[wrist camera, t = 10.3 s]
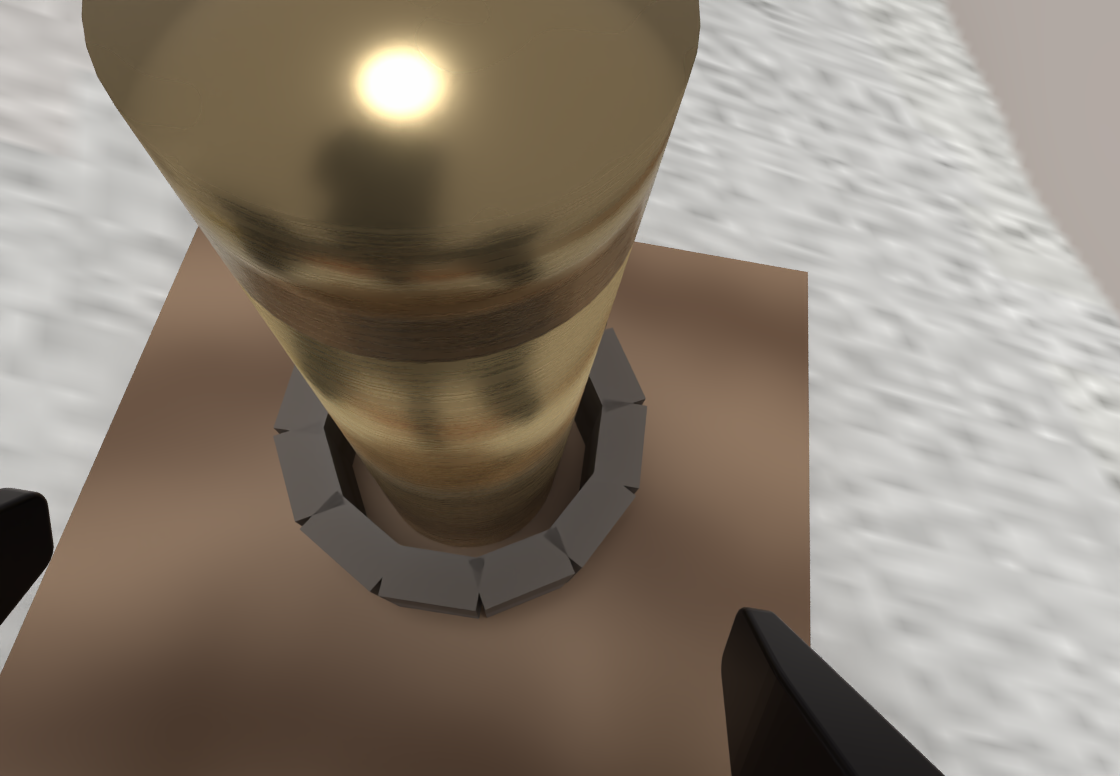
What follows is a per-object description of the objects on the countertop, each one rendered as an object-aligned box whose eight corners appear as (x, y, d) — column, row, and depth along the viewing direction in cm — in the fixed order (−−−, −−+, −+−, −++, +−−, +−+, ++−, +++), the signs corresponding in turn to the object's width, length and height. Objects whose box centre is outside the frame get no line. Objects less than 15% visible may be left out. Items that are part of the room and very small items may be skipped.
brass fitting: (590, 460, 17) (811, 4, 5) (467, 586, 16) (375, 364, 4) (472, 352, 18) (427, -255, 6) (346, 461, 16) (-50, -52, 4)
